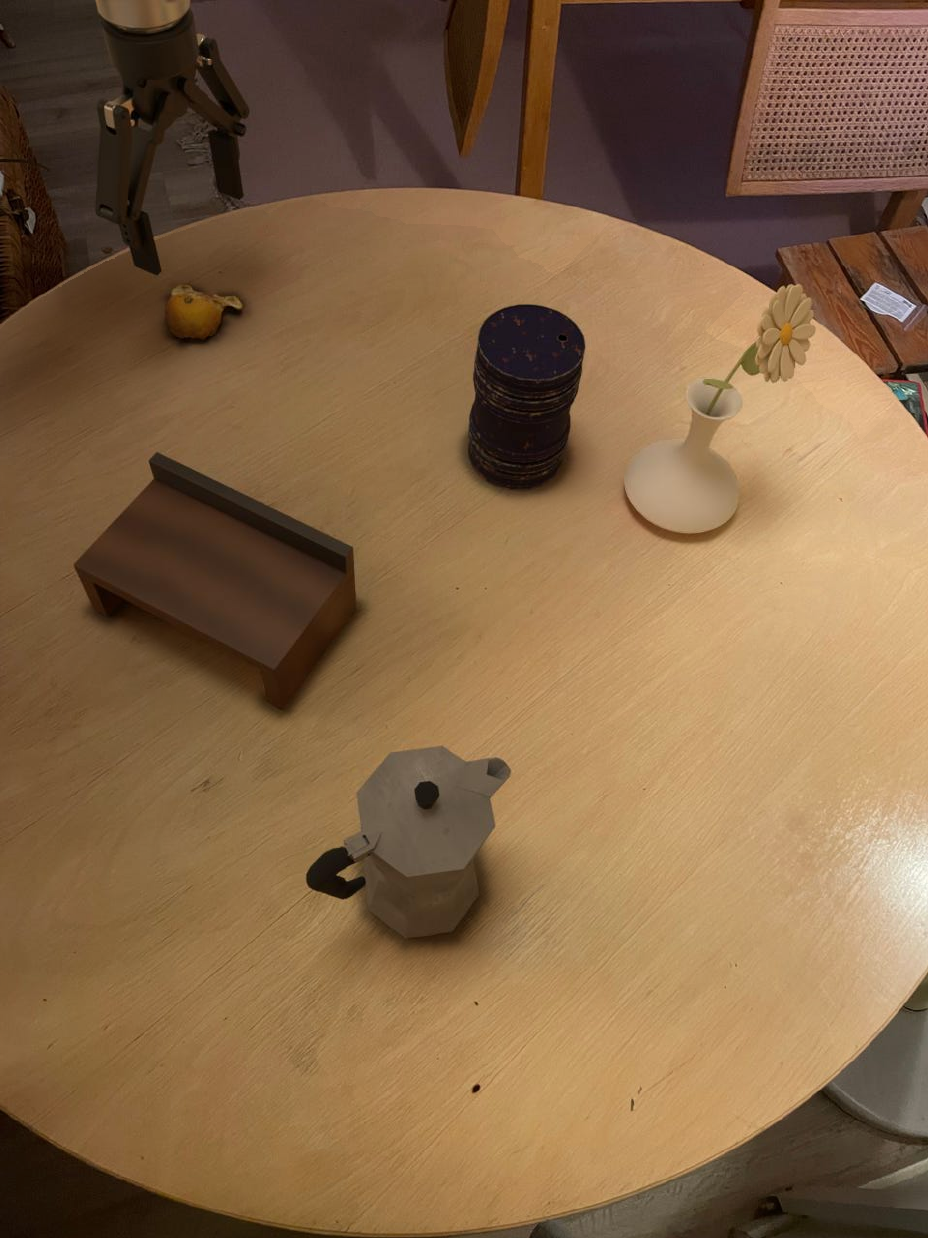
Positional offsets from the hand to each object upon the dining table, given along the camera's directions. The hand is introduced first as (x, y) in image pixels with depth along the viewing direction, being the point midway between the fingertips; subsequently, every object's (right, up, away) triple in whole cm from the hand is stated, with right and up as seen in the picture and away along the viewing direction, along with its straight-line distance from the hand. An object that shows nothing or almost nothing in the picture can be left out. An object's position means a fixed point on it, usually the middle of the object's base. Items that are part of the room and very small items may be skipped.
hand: (190, 230), depth 103 cm
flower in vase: (+49, -26, 0) cm, 56 cm away
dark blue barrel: (+32, -22, +2) cm, 39 cm away
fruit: (-1, -6, +10) cm, 11 cm away
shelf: (+6, -38, -10) cm, 40 cm away
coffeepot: (+23, -60, -23) cm, 68 cm away
